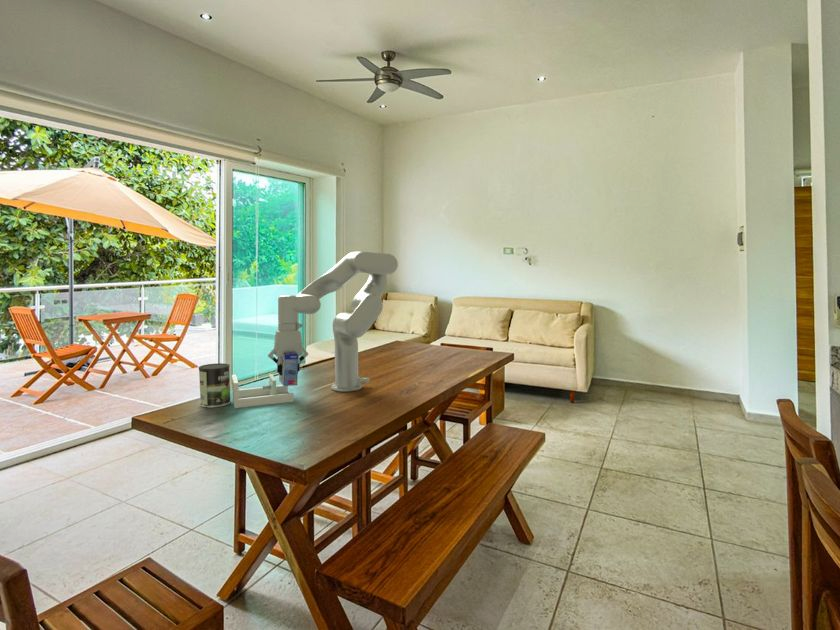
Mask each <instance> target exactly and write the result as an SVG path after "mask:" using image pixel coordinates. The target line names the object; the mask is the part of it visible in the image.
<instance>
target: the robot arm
mask: <svg viewBox="0 0 840 630" xmlns="http://www.w3.org/2000/svg"><path fill="white" fill-rule="evenodd" d="M398 267H399V262H398V259H397V258H396V257H395V255H393V254H390V253H384V252H383V253H382V252H372V251H365V250H364V251H363V250H362V251H359V250H358V251H351V252H349V253H347V254H346V255H345V256H344V257H343V258H342V259H340V260H339V261H338V262H337V263H336V264H334V266H333V267H331V268H330V269H329V270H328V271H326V273H323V275H320V276H319V277H317V278H316V279H315V280H313V281H312V282H311V283H309V284H308V285H307V286H305V287H304V288H303V289H302V290H301V291H300V292H299V293H298V294H297V295H294V294H283V295H282V294H281V295H279V296H278V298H277V317H278V318H277V320H278V321H277V325H278V326H277V327H278V328H277V330H275V335H274V343H273V344H274V347H273V348H272V350H271V351H270V352H269V353H268V354H267V357H268V358H269V359H271V360H272V361H273V362H274V363H275V364H276V365H277V366H276V367H277V368H276V369H277V371H276V373H277V374H278V376H279V375H282V365H281V361H282V358H283V353H297V354H298V372H300V370H301V369H300V368H301V365H300V364H301V363H302V361H304V360H305V358H306V357H308V356H309V352H308V351H307V350H306V349H305V348H304V347H303V339H302V333H301V330H300V328H303V324H302V323H300V322H299V319H300V317H299V315H300V314H305V315H313V314H316V313H317V312H318V311H319V310H320V309H321V305H322V303H321V301H320V299H322V298H323V297H324V296H327V295H329V294H332V293H334V292H337V291H339V290H341V289H342V288H344V287H345V286H346V284H348V283H349V282H350V281H351V280H352V279H354V278H355V276H357V275H358V274H359V273H361V274H362V273H363V274H364V273H365V274H368V278H367V281H366V282H365V284H364V285H363V286H362V288H361V289H360V290H359V291H358V292H357V294H356V295H354V297H353V298H352V300H351V302H350V308H351V311H352V312H347V311H345V312H339V313H337V315H335V317H334V318H333V321H332V333H333V338H334V383H333V384H332V385H331V390H333V391H335V392H341V393H342V392H343V393H345V392H346V393H347V392H354V391H355V392H356V391H359V390H361V389H363V383H370V377H360V376H359V342H358V339H360V338H361V337H362V336H364V335H365V334H366V333H367V331H368V330H370V329H371V327H372V326H373V324H374V323H375V322H376V320H377V319H378V318H379V317H380V315H381V313H382V311H383V304H384V303H383V300H382V298H381V297H382V296H383V294H384V293H385V291H386V289H387V285H388V277H387V276H388V275H392V274H394V273H395V272H396V271H397V269H398ZM274 355H275V356H276V357H277V358H276V357H275V356H274Z"/></svg>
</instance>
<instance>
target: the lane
mask: <svg viewBox="0 0 840 630" xmlns="http://www.w3.org/2000/svg"><path fill="white" fill-rule="evenodd" d="M231 391H232V396H231V397H232V402H233V406H234V407H233V408H234V409H238V408H239V409H240V408H249V407H256V406H266V405H274V404H275V405H276V404H283V403H291V402H294V392H289V386H283V385H282V384H281V385H280V384H279V385H276V395H270V394H269V389H266V390H263V386H261V387H251V388H249V387H248V388H241V389H239V381H238V377H237V374H231Z"/></svg>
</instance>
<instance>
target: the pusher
mask: <svg viewBox="0 0 840 630" xmlns="http://www.w3.org/2000/svg"><path fill="white" fill-rule="evenodd" d="M268 383H269V384H268V385H262V387H263V390H266V389H269V394H270V395H277V394H276V386H277V379H276V378H275V376H274V374H273V373H269V374H268Z"/></svg>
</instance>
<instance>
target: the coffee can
mask: <svg viewBox="0 0 840 630" xmlns="http://www.w3.org/2000/svg"><path fill="white" fill-rule="evenodd" d="M198 372H199V373H198V374H199V375H198V376H199V379H198V380H199V392H200V393H199V397H200V405H199V406H200V407H202V408H206V407H207V408H209V409H210V408H220V407H225V406H228V405H230V404H231V383H230V381H231V379H230V378H231V377H230V364H228V363H222V362H221V363H220V362H219V363H207V364H203V365H200V366H198Z"/></svg>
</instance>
